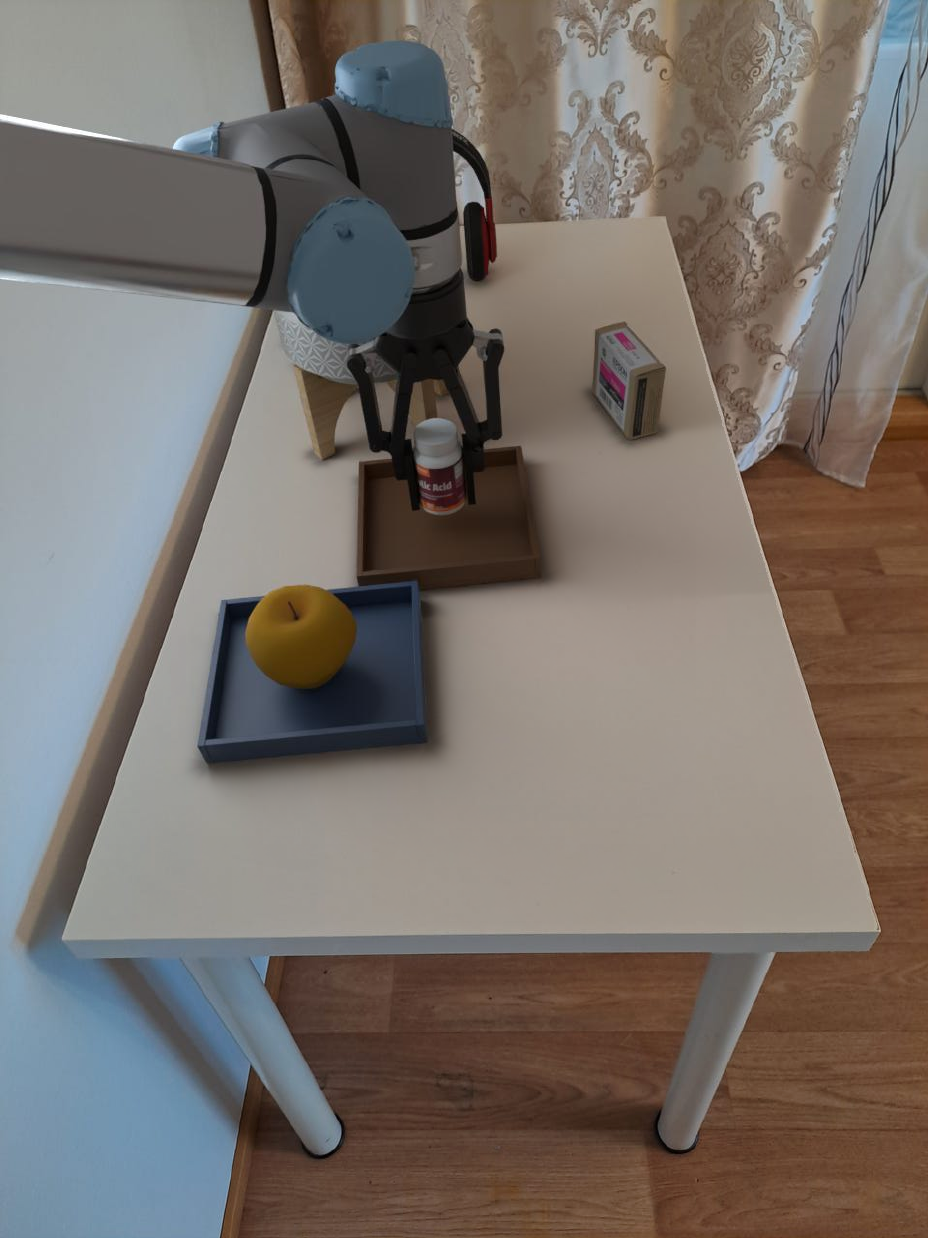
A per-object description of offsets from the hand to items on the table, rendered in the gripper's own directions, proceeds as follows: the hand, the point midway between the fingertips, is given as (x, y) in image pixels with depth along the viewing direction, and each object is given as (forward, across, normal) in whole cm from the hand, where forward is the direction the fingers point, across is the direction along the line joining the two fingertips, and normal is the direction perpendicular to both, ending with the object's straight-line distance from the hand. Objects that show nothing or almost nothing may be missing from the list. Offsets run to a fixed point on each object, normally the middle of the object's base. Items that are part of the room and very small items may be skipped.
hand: (443, 498), depth 89 cm
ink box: (+4, +21, +16) cm, 27 cm away
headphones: (+4, +1, +51) cm, 51 cm away
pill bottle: (+1, 0, 0) cm, 1 cm away
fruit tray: (+4, -12, -18) cm, 22 cm away
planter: (+4, -6, +19) cm, 20 cm away
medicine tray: (+4, 0, 0) cm, 4 cm away
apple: (+3, -13, -18) cm, 22 cm away
